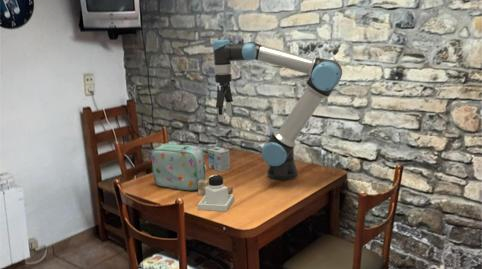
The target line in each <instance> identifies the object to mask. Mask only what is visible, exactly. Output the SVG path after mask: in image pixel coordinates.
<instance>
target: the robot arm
mask: <svg viewBox="0 0 482 269" xmlns="http://www.w3.org/2000/svg"><path fill="white" fill-rule="evenodd" d="M212 51H213V59H214V66H213V69H214V73H215V75H214V78H215V79H214V80H215V83H217V84H218V83H219V84H218V85H217V87H216V104H215V109H217V118H218V119H217V120H218V122H220V123H221V122H222V123H223V122H225V116H226V117H227V116H229V117H230V116H231V117H232V116H233V115H232V114H233V113H232V112H233V111H232V109H233V108H232V103H233V102H234V100H233V96H232V89H231V83H230V82H232V74H231V73H232V67H231V66H232V64H231V61H233V62H234V61H254V60H255V61H258V62H261V63H262V62H263V63H266V64H269V65H273V66H277V67H281V68H285V69H286V70H287V69H288V70H291V71H295V72H299V73H302V74H305V75H308V76H309V78H308V79H307V81H306V82H305V85H306V88H305V90H304V91H303V93H301V94H302V95H301V96H300V97H299V99H298V101H297V102H296V104H295V105H294V107H293V108H292V110H291V111H290V113H289V114H288V115H287V117H286V119H285V121H284V122H283V124H281V127H280V128H279V129H277V130H271V131H270V132H269V139H268V141H266V143H265V144H264V145H263V147H262V149H261V157H262V159H263V161H264V162H265V163H266V164H268V168H267V173H266V174H267V177H268V178H269V179H271V180H275V181H288V180H292V179H296V178H297V177H298V173H299V172H298V168H297V165H296V163H295V154H294V153H295V151H294V150H295V146H296V142H295V140H296V139H297V137H298V136H299V135H300V133H301V132H302V130H303V129H304V127H305V126H306V124H307V123H308V122H309V120H310V118H312V116H313V114H314V112H315V111H316V110H317V108H318V106H319V105H320V104H321V102H322V101H323V99H325V98H329V96H330V95H331V94H332V92H333V91H334V89H335V88H336V87H337V85H338V84H339V83H340V80H341V79H342V75H343V69H342V67H341V65H340V63H338V62H337V61H336V60H334V59H328V58H323V57H317V56H316V57H314V58H312V57H310V56H309V57H308V56H304V55H302V54H297V53H294V52H291V51H286V50H283V49H282V50H281V49H279V48H275V47H271V46H268V45H264V44H259V43H258V42H255V41H248V42H243V43H231V41H230V39H216V40H214V41H213V50H212ZM224 104H225V107H224Z"/></svg>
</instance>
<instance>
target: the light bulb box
mask: <svg viewBox="0 0 482 269" xmlns="http://www.w3.org/2000/svg"><path fill="white" fill-rule="evenodd" d="M207 152H208V168H209V169H211V170H215V171H217V172H220V173H222V172H223V173H224V172H226V171H230V170H231V156H230V154H231V153H230V149H228V148H227V149H226V148H223V147H220V146H215V147H211V148H209V149H208V148H207Z"/></svg>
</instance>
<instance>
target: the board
mask: <svg viewBox="0 0 482 269" xmlns="http://www.w3.org/2000/svg"><path fill="white" fill-rule="evenodd" d="M233 189H234V188H233V187H231V186H230V187H228V194H229V195H233V191H234V190H233Z"/></svg>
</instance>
